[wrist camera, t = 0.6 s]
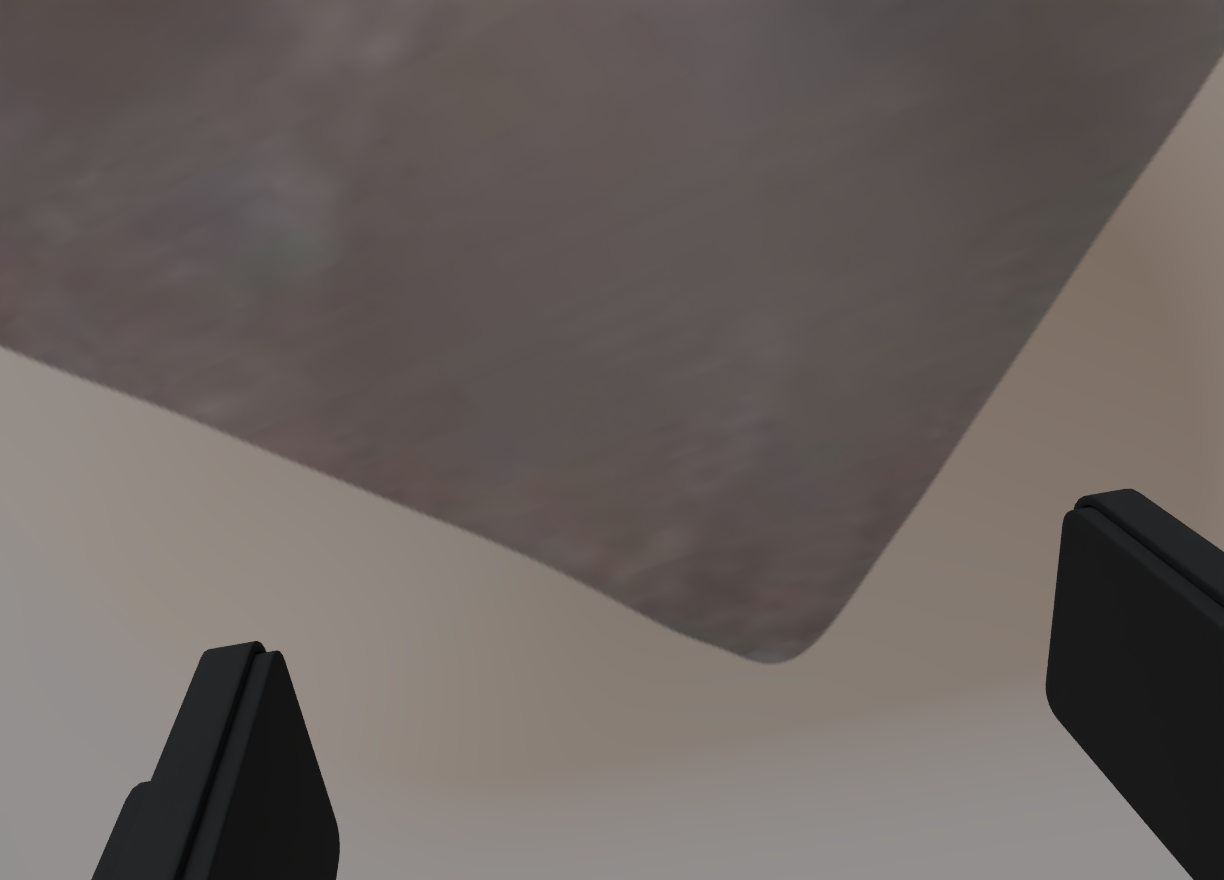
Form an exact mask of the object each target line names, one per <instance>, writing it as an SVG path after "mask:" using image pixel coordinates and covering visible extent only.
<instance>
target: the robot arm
mask: <svg viewBox="0 0 1224 880" xmlns="http://www.w3.org/2000/svg"><path fill="white" fill-rule="evenodd" d="M1046 695H1047V699H1048V702H1049V705H1050V708H1051V709H1052V712H1053V713H1054V715H1055V716H1056V718H1057V719H1058V720H1059V721H1060V723H1061V724H1062V725H1063V726H1064V727H1065V728H1066V730H1067V731H1068V732H1069V733H1070V734H1071V736H1072V737H1073V738H1074V739H1075V740H1076V741H1077V742H1078V744H1079V745H1080V746H1081V747H1082V749H1083V750H1084V751H1085V752H1086V753H1087V754H1088V755H1089V757H1090V758H1091V759H1092V760H1093V761H1094V763H1095V764H1096V765H1097V766H1098V767H1099V769H1100V770H1101V771H1102V772H1103V773H1104V774H1105V776H1106V777H1107V778H1108V779H1109V780H1110V782H1111V783H1112V784H1113V785H1114V786H1115V787H1116V789H1117V790H1118V791H1119V792H1120V793H1121V795H1122V796H1123V797H1124V798H1125V799H1126V801H1127V802H1128V803H1129V804H1130V805H1131V806H1132V808H1133V809H1134V810H1135V811H1136V812H1137V814H1139V816H1140V817H1141V818H1142V819H1143V820H1144V822H1145V823H1146V824H1147V825H1148V827H1149V828H1150V829H1151V830H1152V831H1153V832H1154V833H1155V835H1156V836H1157V837H1158V838H1159V839H1160V841H1161V842H1162V843H1163V844H1164V845H1165V847H1166V848H1167V849H1168V850H1169V851H1170V852H1171V854H1172V855H1173V856H1174V857H1175V858H1176V859H1177V861H1178V862H1179V863H1180V864H1181V865H1182V867H1183V868H1184V869H1185V870H1186V871H1187V873H1188V874H1189V875H1190V876H1191V877H1192V878H1193V880H1224V552H1223V551H1222V550H1220V549H1219V548H1217V547H1216V546H1215V545H1213V544H1212V543H1210V542H1209V541H1207V540H1206V539H1205V538H1203V537H1201V536H1200V535H1199V534H1197V533H1196V532H1195V531H1193V530H1192V529H1190V528H1189V527H1188V526H1186V525H1185V524H1183V523H1182V522H1181V521H1179V520H1178V519H1176V518H1175V517H1173V516H1172V515H1171V514H1169V513H1168V512H1166V511H1165V510H1163V509H1162V508H1161V507H1159V506H1158V505H1156V504H1155V503H1153V502H1152V501H1151V500H1149V499H1148V498H1146V497H1145V496H1144V495H1142V494H1141V493H1139V492H1137V491H1135V490H1133V489H1122V490H1116V491H1110V492H1105V493H1099V494H1093V495H1088V496H1083V497H1082V498H1080V499H1079V500H1078V501H1077V503H1076V504H1075V507H1074V510H1071V511H1069V512H1068V513H1067V514H1066V515H1065V517H1064V520H1063V525H1062V535H1061V544H1060V553H1059V564H1058V572H1057V582H1056V591H1055V601H1054V611H1053V620H1052V629H1051V639H1050V649H1049V658H1048V667H1047V677H1046ZM339 853H340V842H339V832H338V826H337V823H336V819H335V816H334V813H333V810H332V806H331V803H330V800H329V797H328V794H327V791H326V787H325V784H324V781H323V778H322V775H321V772H320V769H319V766H318V763H317V759H316V756H315V753H314V750H313V747H312V744H311V741H310V738H309V735H308V731H307V728H306V725H305V722H304V719H303V716H302V712H301V709H300V706H299V703H298V700H297V697H296V694H295V691H294V688H293V684H292V681H291V678H290V675H289V672H288V669H287V666H286V663H285V660H284V657H283V655H282V654H281V652H280V651H272V652H266V650H265V648H264V646H263V645H262V644H261V643H260V642H258V641H254V642H248V643H243V644H237V645H231V646H225V647H220V648H214V649H209V650H207V651H205V652H204V654H203V655H202V657H201V659H200V661H199V664H198V667H197V669H196V671H195V673H194V676H193V678H192V681H191V683H190V686H189V688H188V691H187V693H186V696H185V698H184V701H183V703H182V705H181V708H180V710H179V713H178V715H177V718H176V720H175V722H174V725H173V727H172V730H171V732H170V735H169V737H168V740H167V742H166V745H165V747H164V749H163V752H162V755H161V757H160V759H159V762H158V764H157V767H156V769H155V772H154V774H153V776H152V779H151V781H148V782H142V783H140V784H138V785H137V786H136V787H134V788H133V789H132V791H131V792H130V794H129V795H128V797H127V799H126V801H125V803H124V805H123V807H122V810H121V812H120V814H119V817H118V819H117V821H116V824H115V826H114V828H113V831H112V833H111V835H110V838H109V840H108V842H107V845H106V847H105V849H104V852H103V854H102V856H101V859H100V861H99V863H98V866H97V868H96V870H95V872H94V875H93V877H92V879H91V880H336V876H337V869H338V862H339Z"/></svg>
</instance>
